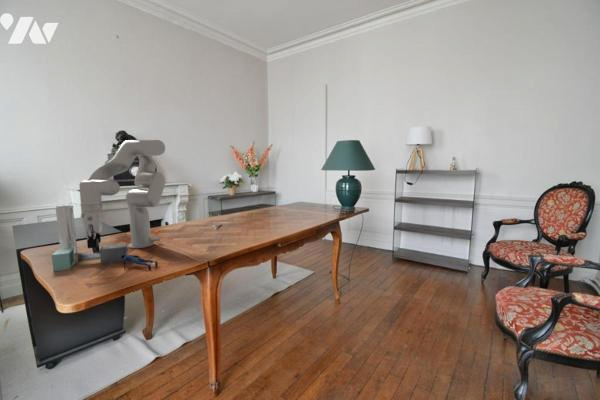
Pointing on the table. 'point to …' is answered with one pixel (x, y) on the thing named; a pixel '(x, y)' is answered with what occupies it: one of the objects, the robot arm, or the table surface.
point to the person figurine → (138, 261)
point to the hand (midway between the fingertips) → (94, 245)
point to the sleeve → (113, 253)
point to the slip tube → (90, 254)
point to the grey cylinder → (66, 227)
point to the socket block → (63, 259)
